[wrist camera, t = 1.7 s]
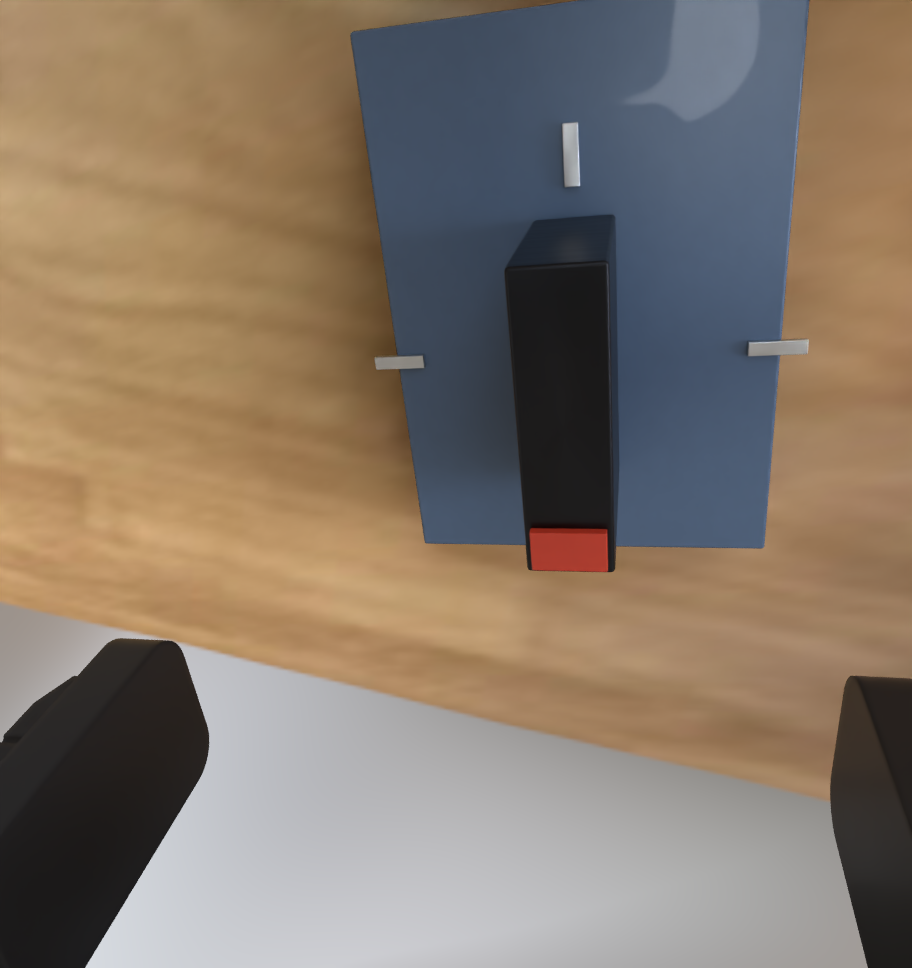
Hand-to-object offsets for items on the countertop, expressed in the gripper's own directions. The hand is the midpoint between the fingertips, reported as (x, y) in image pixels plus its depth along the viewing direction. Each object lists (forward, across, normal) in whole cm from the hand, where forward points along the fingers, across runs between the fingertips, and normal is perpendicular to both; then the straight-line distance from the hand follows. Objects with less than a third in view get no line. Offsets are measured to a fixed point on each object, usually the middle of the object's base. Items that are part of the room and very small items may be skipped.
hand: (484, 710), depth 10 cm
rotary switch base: (+16, 0, -1) cm, 16 cm away
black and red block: (+13, 0, 0) cm, 13 cm away
